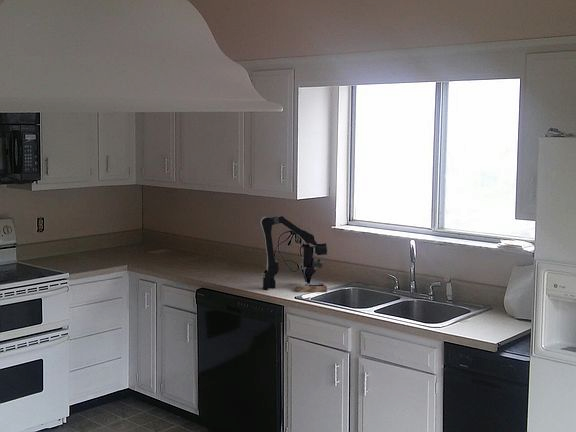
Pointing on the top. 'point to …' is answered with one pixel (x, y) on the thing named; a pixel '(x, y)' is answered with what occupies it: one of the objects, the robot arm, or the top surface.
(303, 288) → the frame
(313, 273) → the robot arm
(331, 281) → the top surface
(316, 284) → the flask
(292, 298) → the top surface
